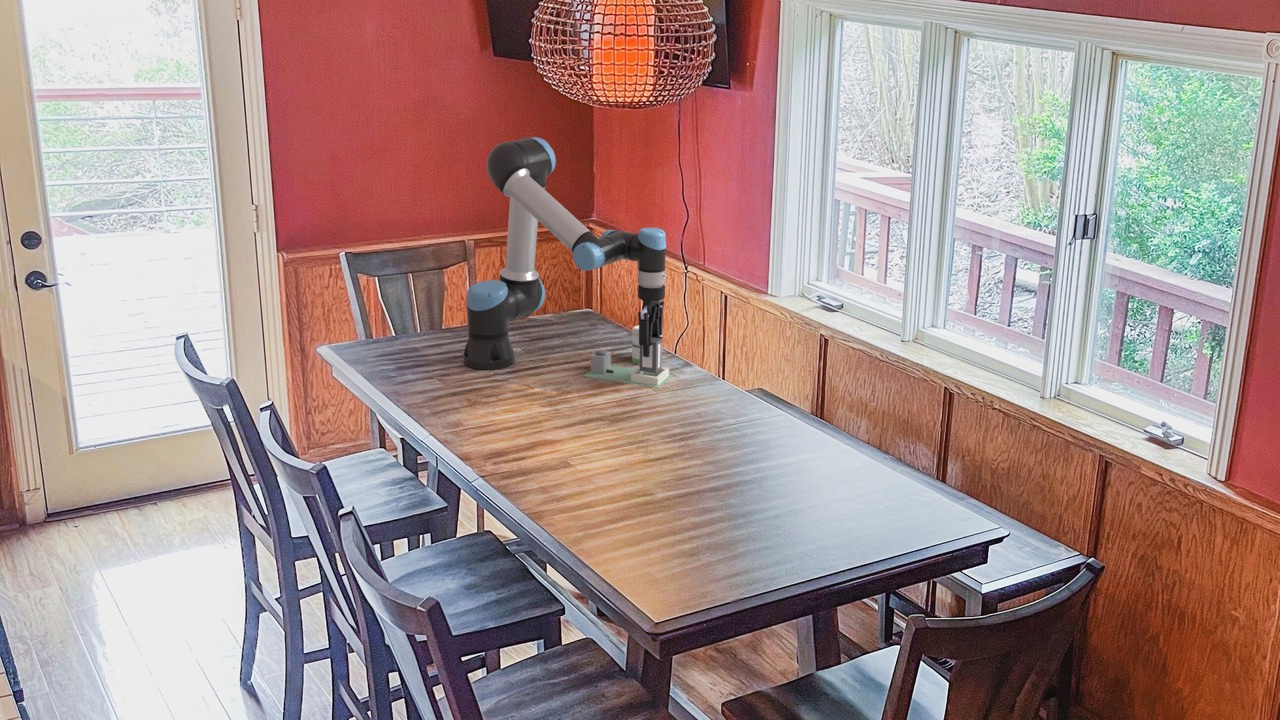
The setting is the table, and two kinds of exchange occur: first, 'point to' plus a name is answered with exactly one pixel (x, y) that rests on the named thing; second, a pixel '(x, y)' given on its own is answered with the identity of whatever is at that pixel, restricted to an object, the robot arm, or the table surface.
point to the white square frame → (640, 378)
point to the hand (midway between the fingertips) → (650, 364)
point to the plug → (653, 356)
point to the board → (623, 376)
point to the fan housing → (601, 362)
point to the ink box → (636, 345)
